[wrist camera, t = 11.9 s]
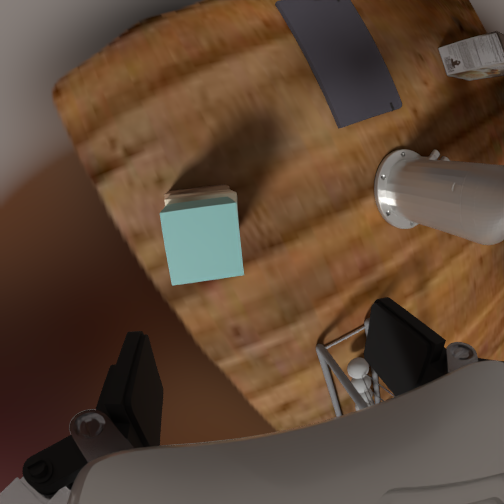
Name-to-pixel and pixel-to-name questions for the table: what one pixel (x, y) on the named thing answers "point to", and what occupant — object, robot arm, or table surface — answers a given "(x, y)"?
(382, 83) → the notebook
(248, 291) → the table surface
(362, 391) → the newton's cradle
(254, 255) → the table surface
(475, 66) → the coffee box
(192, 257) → the teal block
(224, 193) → the tower mid
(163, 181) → the table surface
